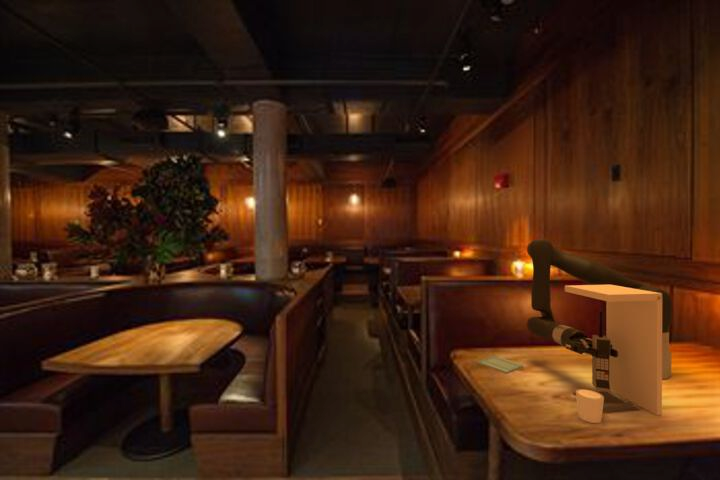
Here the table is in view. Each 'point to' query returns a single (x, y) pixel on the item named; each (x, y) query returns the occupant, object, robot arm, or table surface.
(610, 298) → the overhang shelf
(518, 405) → the table surface
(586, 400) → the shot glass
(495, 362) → the pale green flat pad
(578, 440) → the table surface
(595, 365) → the vintage mobile phone
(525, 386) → the table surface
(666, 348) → the robot arm
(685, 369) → the table surface
